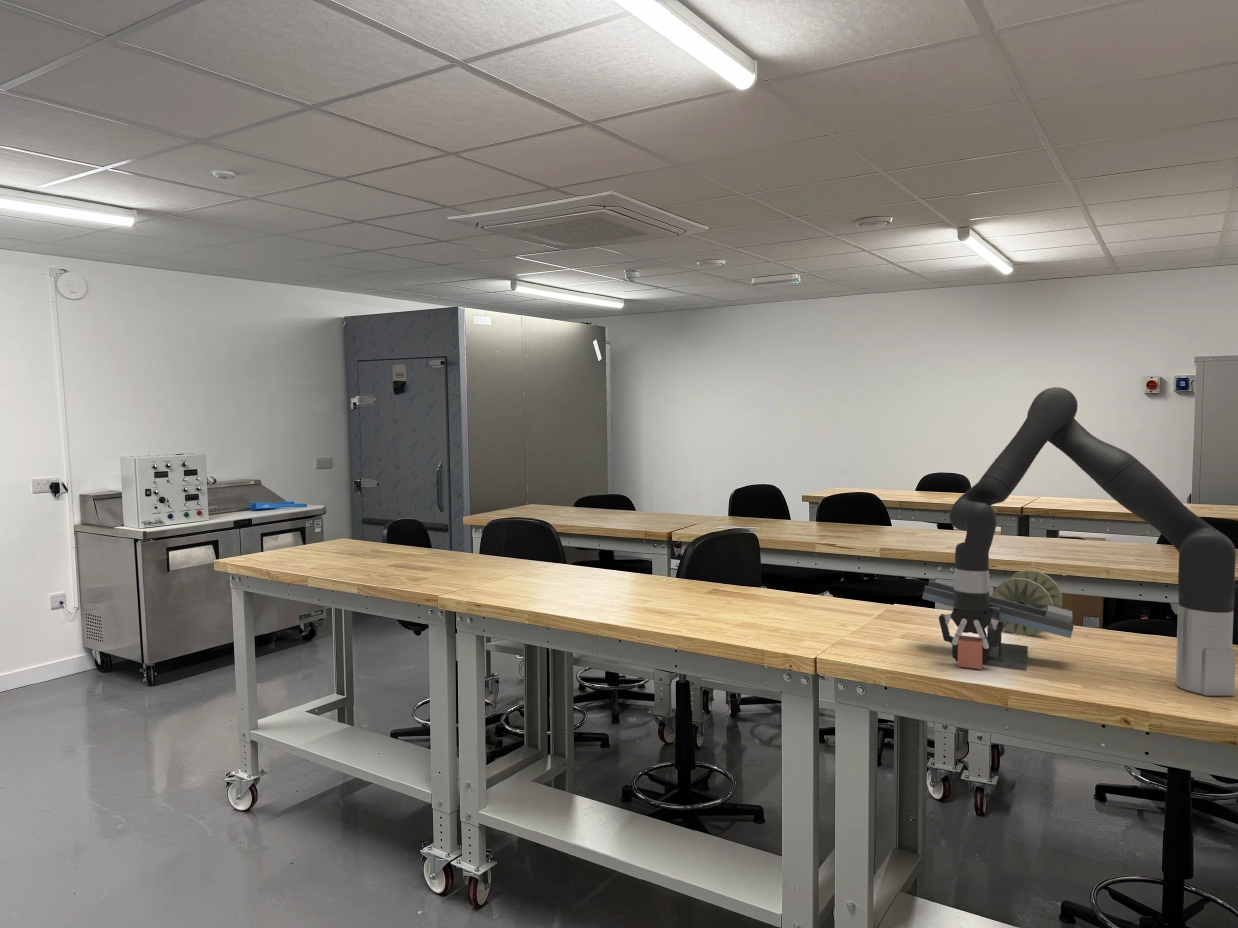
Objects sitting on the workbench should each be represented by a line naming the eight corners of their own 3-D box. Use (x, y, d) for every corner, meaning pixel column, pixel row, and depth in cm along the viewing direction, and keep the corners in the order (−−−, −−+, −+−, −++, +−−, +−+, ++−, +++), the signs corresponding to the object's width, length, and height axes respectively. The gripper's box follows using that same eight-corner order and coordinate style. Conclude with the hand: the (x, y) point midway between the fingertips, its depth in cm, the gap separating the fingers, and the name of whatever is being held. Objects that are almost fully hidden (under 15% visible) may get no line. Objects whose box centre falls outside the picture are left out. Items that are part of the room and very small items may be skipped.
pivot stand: (1027, 650, 190) (1029, 598, 190) (1026, 670, 174) (1027, 613, 174) (965, 643, 197) (966, 592, 196) (958, 661, 181) (960, 606, 181)
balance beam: (1069, 628, 183) (1074, 609, 182) (1070, 639, 173) (1075, 619, 172) (927, 591, 198) (931, 574, 197) (921, 599, 188) (925, 581, 187)
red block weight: (983, 663, 178) (983, 637, 178) (981, 669, 174) (982, 642, 174) (959, 660, 181) (960, 635, 180) (957, 666, 176) (957, 640, 176)
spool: (1051, 639, 201) (1053, 582, 200) (989, 630, 210) (990, 575, 209) (1061, 627, 214) (1062, 573, 213) (1002, 619, 223) (1003, 567, 223)
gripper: (1007, 588, 176) (1006, 662, 177) (939, 582, 183) (938, 653, 184) (1005, 594, 170) (1004, 670, 170) (935, 588, 177) (934, 662, 177)
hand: (970, 661), depth 177 cm, fingers closed on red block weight, 5 cm apart
